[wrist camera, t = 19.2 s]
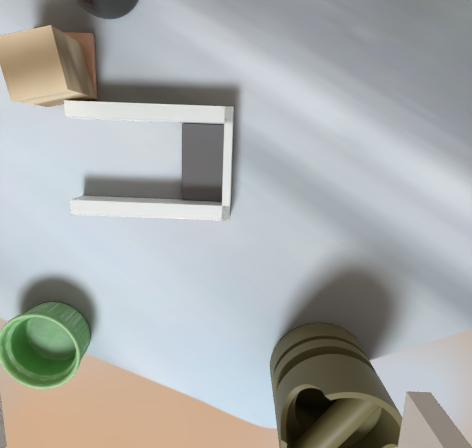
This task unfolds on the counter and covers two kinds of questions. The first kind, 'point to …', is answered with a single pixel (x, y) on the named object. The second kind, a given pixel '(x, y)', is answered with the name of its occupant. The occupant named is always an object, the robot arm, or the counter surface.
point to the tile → (87, 53)
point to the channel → (193, 161)
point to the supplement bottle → (108, 7)
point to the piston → (329, 392)
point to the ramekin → (44, 345)
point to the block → (44, 67)
